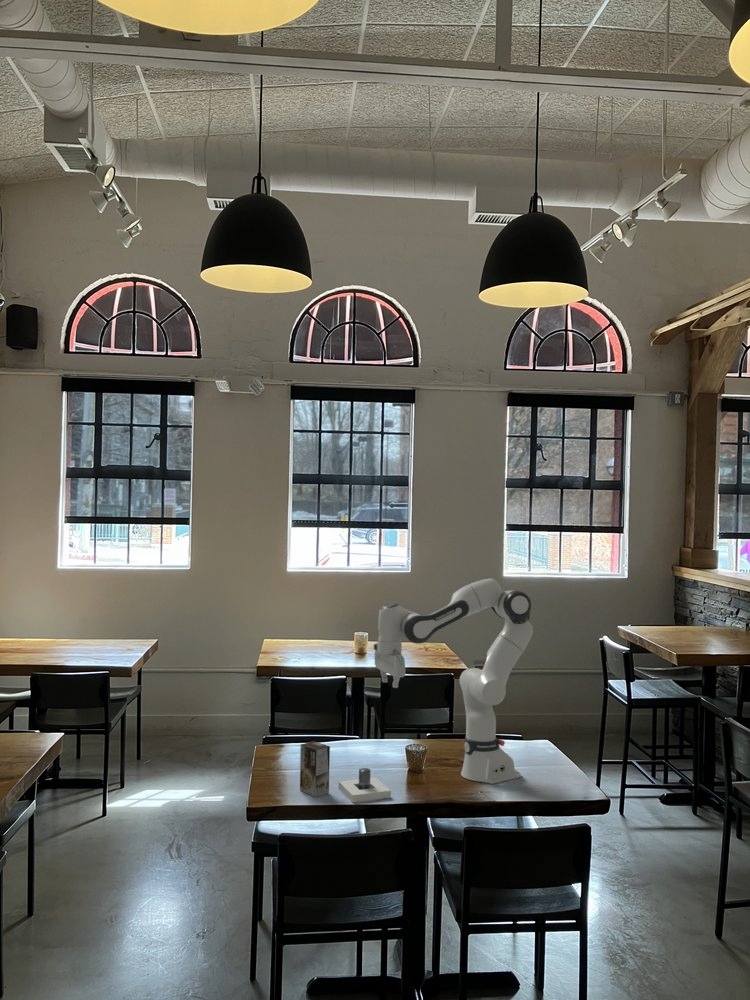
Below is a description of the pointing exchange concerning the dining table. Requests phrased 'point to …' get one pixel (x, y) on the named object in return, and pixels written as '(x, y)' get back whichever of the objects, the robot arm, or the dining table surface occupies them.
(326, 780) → the coffee box
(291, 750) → the dining table surface
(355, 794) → the plate
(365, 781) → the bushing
